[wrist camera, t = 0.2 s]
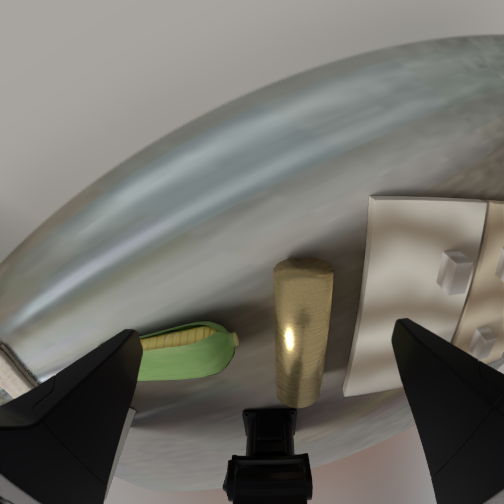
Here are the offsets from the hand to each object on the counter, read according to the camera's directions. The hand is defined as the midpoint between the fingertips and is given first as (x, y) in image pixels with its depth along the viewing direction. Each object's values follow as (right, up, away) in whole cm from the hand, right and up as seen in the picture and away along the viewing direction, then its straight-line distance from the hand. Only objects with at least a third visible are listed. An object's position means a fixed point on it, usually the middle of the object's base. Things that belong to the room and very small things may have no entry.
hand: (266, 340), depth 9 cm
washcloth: (-41, -20, +26) cm, 53 cm away
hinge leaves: (+22, -2, +15) cm, 27 cm away
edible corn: (-11, -6, +19) cm, 23 cm away
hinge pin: (+4, -4, +17) cm, 18 cm away
